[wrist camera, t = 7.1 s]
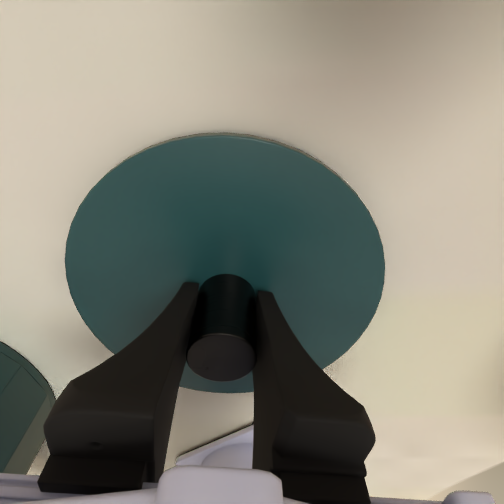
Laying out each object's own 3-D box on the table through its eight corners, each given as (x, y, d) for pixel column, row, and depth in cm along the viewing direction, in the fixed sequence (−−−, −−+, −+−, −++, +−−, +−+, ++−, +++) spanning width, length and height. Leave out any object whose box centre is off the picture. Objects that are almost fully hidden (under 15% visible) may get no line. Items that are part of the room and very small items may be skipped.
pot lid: (264, 38, 11) (272, 33, 7) (423, 305, 17) (477, 384, 13) (10, 255, 15) (-75, 330, 11) (210, 406, 21) (201, 488, 17)
